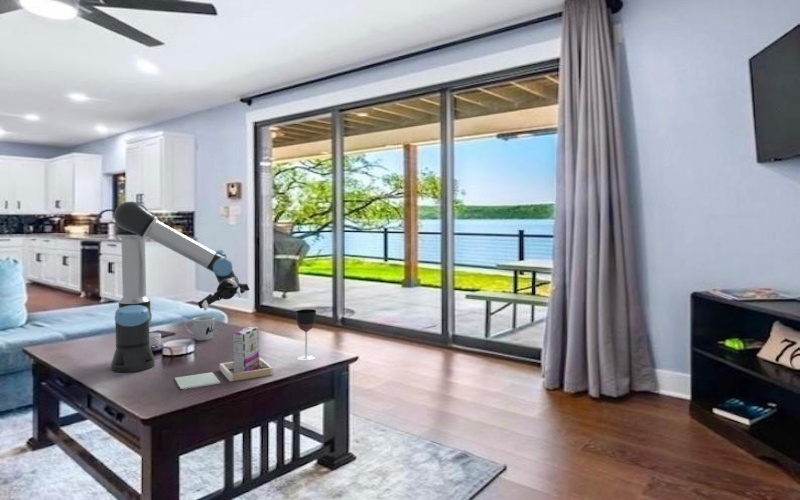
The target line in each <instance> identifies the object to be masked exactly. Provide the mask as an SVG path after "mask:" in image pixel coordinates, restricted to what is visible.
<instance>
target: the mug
mask: <svg viewBox="0 0 800 500" xmlns="http://www.w3.org/2000/svg"><path fill="white" fill-rule="evenodd" d="M215 321H216V317H214V316H210V315H209V316H206V315H205V316H196V317H193V318H192V319H190V320H186V321H185V322H184V324H183V329H184V330H185V332H186V333H188V334H190V335H192V336H194V339H195V340H196V341H209V340H211V339H213V336H214V335H213V334H214V330H215V329H214V328H215V323H216V322H215ZM189 323H191V324H192V327H193V332H192V331H190V329H188V327H187V325H188V324H189Z"/></svg>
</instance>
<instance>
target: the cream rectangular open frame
mask: <svg viewBox="0 0 800 500" xmlns="http://www.w3.org/2000/svg"><path fill="white" fill-rule="evenodd" d="M259 367H261V368H260V369H259V368H258V369H257V370H252V371H245V372H239V373H234V372H232V371H230V370H234V361H228V362H221V363H219V371H220V372H221V373H222V374H223V376H224V377H225V378H226V379H227V380H228V381H229V382H234V381H235V382H236V381H241V380H248V379H254V378H260V377H266V376H274V374H275V373H274V367H273V366H272V365H270V364H269V363H268V362H267V361H266V360H264V359H263V358H262V357H259Z"/></svg>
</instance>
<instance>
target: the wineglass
mask: <svg viewBox="0 0 800 500" xmlns="http://www.w3.org/2000/svg"><path fill="white" fill-rule="evenodd" d="M295 315H296V323H297V326H298V328H299V329H300V330H301V331H302V332H304V334H305V335H304V336H305V337H304V339H305V341H304V342H305V347H304V350H305V354H304V355H301V356H298V357H297V358H296V359H297V360H299V361H312V360H314V359H316V356H314V355H308V332H309V331H310V330H312V329H313V328H314V327H315V325H316V319H317V310H316V309H311V308H310V309H309V308H308V309H307V308H306V309H304V308H303V309H298V310H296V312H295ZM313 356H314V357H313Z"/></svg>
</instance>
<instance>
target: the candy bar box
mask: <svg viewBox="0 0 800 500" xmlns="http://www.w3.org/2000/svg"><path fill="white" fill-rule="evenodd" d="M232 350H233V351H232V353H233V354H232V356H233V359H232V360H233V362H234V369H233V373H239V372H245V371H252V370H258V369H259V368H260V365H259V358H260V356H259V355H260V353H259V327H257V326H256V327H255V326H247V327H243V328H242V329H240V330H237V331H235V332H233V333H232Z"/></svg>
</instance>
